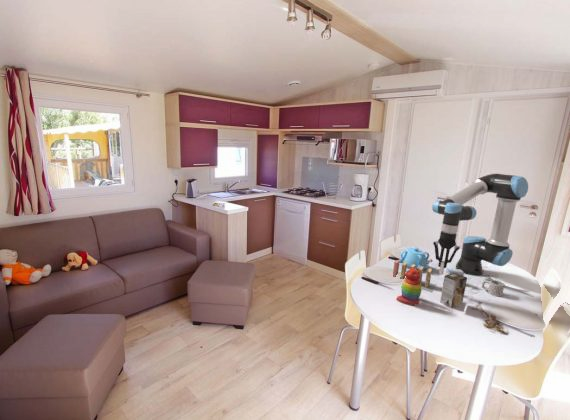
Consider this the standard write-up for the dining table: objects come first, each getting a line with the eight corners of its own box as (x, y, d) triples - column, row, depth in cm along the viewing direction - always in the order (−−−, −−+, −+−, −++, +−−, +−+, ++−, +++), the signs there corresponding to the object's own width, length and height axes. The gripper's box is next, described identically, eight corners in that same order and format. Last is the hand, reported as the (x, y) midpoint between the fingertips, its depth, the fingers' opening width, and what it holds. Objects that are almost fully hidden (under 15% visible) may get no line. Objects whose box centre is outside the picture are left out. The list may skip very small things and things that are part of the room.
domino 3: (412, 280, 177) (415, 264, 175) (410, 283, 173) (413, 267, 171) (410, 279, 178) (412, 263, 176) (407, 282, 174) (410, 266, 172)
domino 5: (429, 285, 172) (432, 269, 170) (427, 288, 168) (430, 271, 166) (426, 284, 173) (429, 268, 171) (424, 287, 169) (427, 271, 167)
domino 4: (421, 282, 175) (423, 266, 172) (418, 285, 171) (421, 269, 169) (418, 281, 176) (420, 266, 173) (416, 284, 172) (418, 268, 169)
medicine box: (458, 282, 180) (460, 269, 178) (461, 286, 175) (464, 272, 173) (444, 281, 180) (446, 268, 178) (447, 284, 176) (450, 271, 174)
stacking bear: (403, 293, 163) (408, 263, 159) (422, 301, 156) (428, 269, 152) (394, 300, 156) (399, 268, 152) (414, 308, 149) (419, 275, 145)
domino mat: (436, 286, 173) (436, 284, 173) (431, 294, 164) (432, 292, 164) (391, 273, 188) (391, 271, 188) (384, 279, 179) (385, 278, 179)
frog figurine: (475, 317, 144) (477, 309, 144) (505, 324, 140) (506, 316, 139) (479, 330, 134) (481, 322, 133) (512, 338, 130) (514, 330, 129)
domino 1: (392, 277, 179) (394, 262, 177) (394, 275, 183) (397, 259, 181) (395, 278, 179) (397, 262, 176) (397, 275, 182) (399, 260, 180)
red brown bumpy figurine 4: (405, 278, 180) (407, 262, 178) (402, 280, 176) (405, 265, 174) (402, 277, 181) (404, 261, 179) (399, 280, 177) (402, 264, 175)
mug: (503, 293, 168) (505, 283, 167) (501, 297, 164) (503, 286, 162) (482, 287, 175) (484, 277, 174) (479, 291, 170) (482, 280, 169)
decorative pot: (431, 269, 198) (434, 249, 195) (418, 274, 188) (421, 254, 185) (408, 260, 210) (411, 242, 207) (395, 265, 201) (398, 246, 198)
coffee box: (450, 300, 158) (455, 272, 155) (462, 306, 153) (468, 277, 149) (439, 303, 154) (444, 275, 150) (450, 310, 149) (456, 280, 145)
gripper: (434, 230, 160) (426, 271, 166) (461, 236, 153) (453, 278, 158) (436, 227, 166) (429, 267, 171) (463, 233, 159) (455, 274, 164)
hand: (441, 272), depth 165 cm, fingers closed
